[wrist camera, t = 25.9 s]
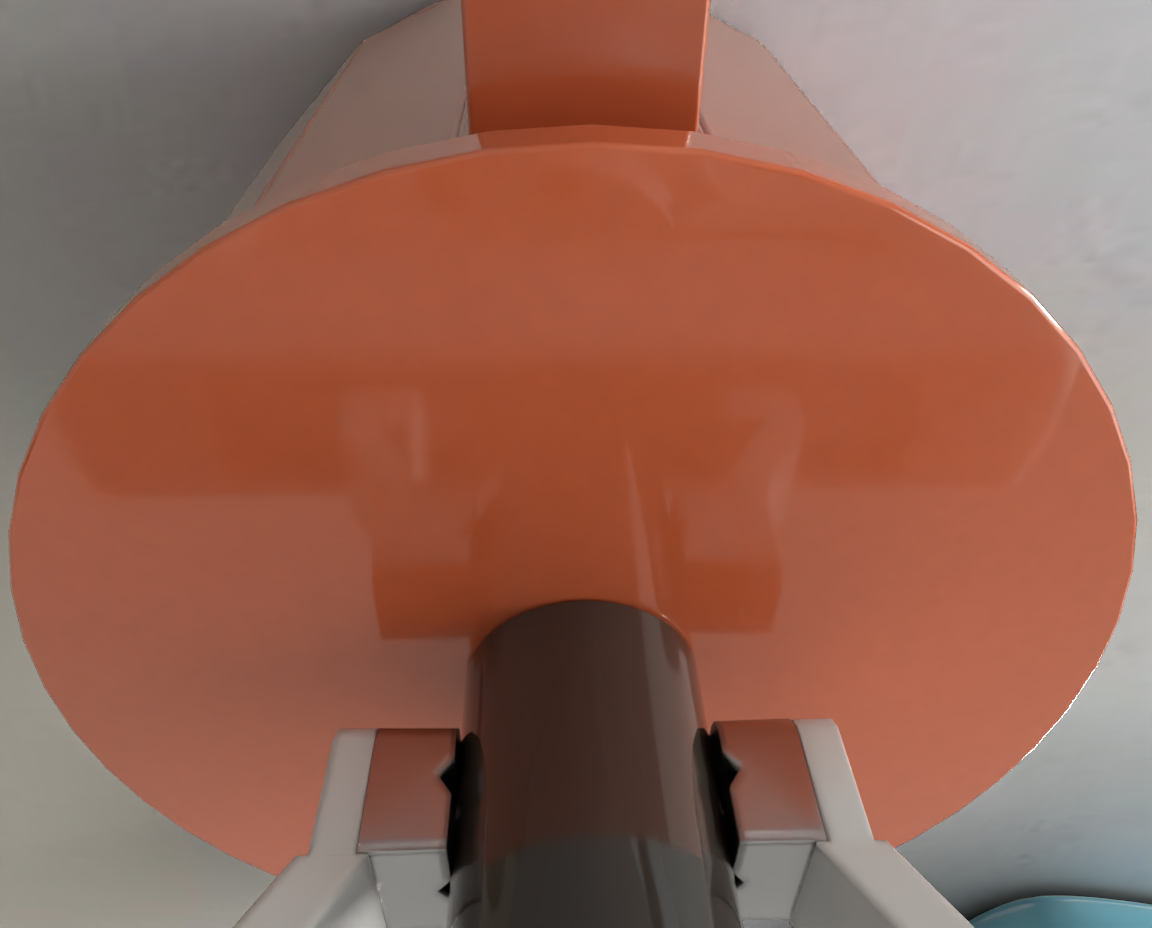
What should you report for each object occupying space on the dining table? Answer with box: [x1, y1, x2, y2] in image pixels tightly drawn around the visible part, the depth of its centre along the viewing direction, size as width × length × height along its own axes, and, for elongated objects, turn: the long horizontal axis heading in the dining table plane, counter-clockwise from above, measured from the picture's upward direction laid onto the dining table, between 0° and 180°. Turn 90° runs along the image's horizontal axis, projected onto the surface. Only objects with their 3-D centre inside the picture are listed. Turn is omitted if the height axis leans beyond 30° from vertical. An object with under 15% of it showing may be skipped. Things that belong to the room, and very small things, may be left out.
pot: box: [225, 0, 879, 222], centre depth 17 cm, size 14×19×10 cm
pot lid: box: [9, 124, 1137, 928], centre depth 11 cm, size 15×15×6 cm
